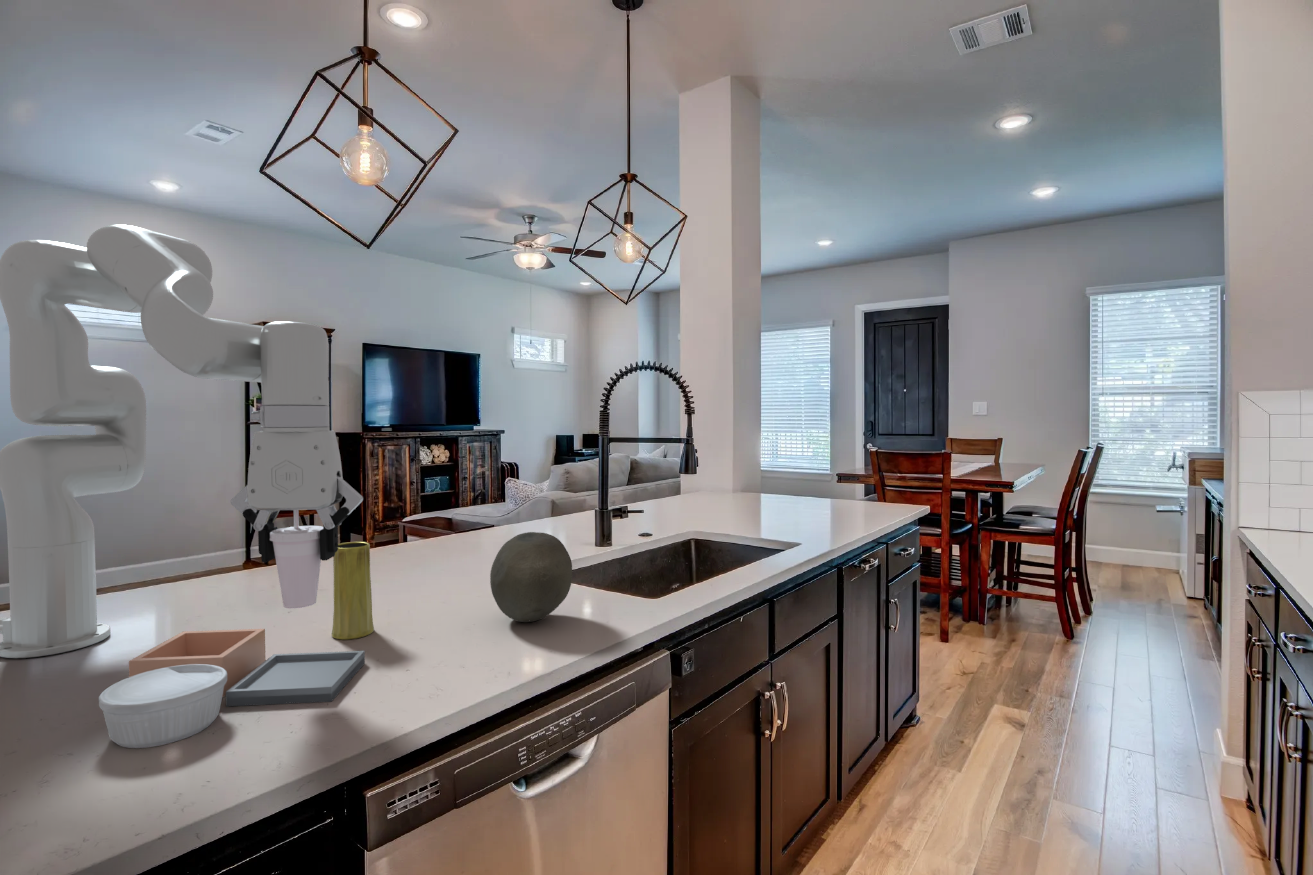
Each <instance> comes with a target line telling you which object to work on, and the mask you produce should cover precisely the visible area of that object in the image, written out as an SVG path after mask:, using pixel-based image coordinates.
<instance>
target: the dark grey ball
mask: <svg viewBox="0 0 1313 875" xmlns="http://www.w3.org/2000/svg"><path fill="white" fill-rule="evenodd" d="M489 576H490V577H489V578H490V580H489V581H490V583H489V584H490V590H491V594H492V597H493V599H494V601H495V603H496V605H497V607H498V608H499V610H500V611H501V612H502V613H503V614H504V615H505V616H506V617H507V618H509V619H511V620H514V621H517V622H519V623H531V622H536V621H539V620H542V619H544V618H545V617H548V616H549V615H550V614H552V613H553V612H554V611H555V610H556V609H557V608H558V607H559V606H560V605H561V604H562V603H563V602H564V601H565V599H566V598H567V596H568V594H569V593H570V592H569V591H570V589H571V587H572V580H573V563H572V559H571V556H570V554H569V552H568V550H567V549H566V546H565V545H564V543H562V541H561V540H560V539H559V538H557V537H556V536H554V535H552V534H550V533H545V532H540V531H539V532H536V531H528V532H523V533H519V534H517V535H514V536H513V537H512V538H510V539H508V540H507V541H506V542H505V543H504V544H502V546H501V547H500V549H499V550H498V552H497V554H496V556H495V557H494V560H493V562H492V565H491V569H490V575H489Z"/></svg>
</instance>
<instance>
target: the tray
mask: <svg viewBox="0 0 1313 875" xmlns="http://www.w3.org/2000/svg"><path fill="white" fill-rule="evenodd" d="M365 651H366V650H349V651H348V650H347V651H346V650H345V651H325V652H324V651H321V652H300V653H299V652H298V653H296V652H295V653H273V654H272V655H270V656H269V657H268V658H266V661H264V662H263V663H262V664H261V665H259V666H258V667H257V668H255V669H254V670H253V671H252V672H250V673H249V674H248V675H247V676H245V677H244V678H243V679H241V680H240V681H239V682H238V683H236V684H235V685H234V686H232V687H231V688H230V689H229V690H227V691H226V696H225V707H243V706H244V707H245V706H261V705H262V706H265V705H266V706H267V705H280V704H281V705H286V704H287V705H288V704H304V703H305V704H306V703H323V702H324V703H325V702H326V703H329V702H332V701H333V700H334V699H335V698H336V697H337V696H338V695H339V693H341V692H342V690H343V689H344V688H345V687H346V686H347V685H348V683H349V682H350V681H351V680H352V679H353V677H354V676H355V675H356V674H357V673H358V672H359V671H360V669H361V668H362V667H363V666H364V665H365V664H366V661H365V660H366V658H365V657H366V656H365Z"/></svg>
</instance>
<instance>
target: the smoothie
mask: <svg viewBox="0 0 1313 875" xmlns="http://www.w3.org/2000/svg"><path fill="white" fill-rule="evenodd" d="M299 511H300V510H293V526H290V527H289V526H287V527H282V528H278V529H276V530H273V531H271V532H270V541H273V546H274V553H275V564H276V569H277V576H278V580H279V581H278V582H279V588H280V592H281V593H280V594H281V599H282V605H283V607H284V608H286V609H301V608H306V607H311V606H313V605H315V604H316V603H317V597H318V590H319V588H318V587H319V580H320V571H321V562H322V560H321V559H320V530H322V529H323V526H321V525H300V522H299V521H300V517H299V516H300V515H299Z"/></svg>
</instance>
